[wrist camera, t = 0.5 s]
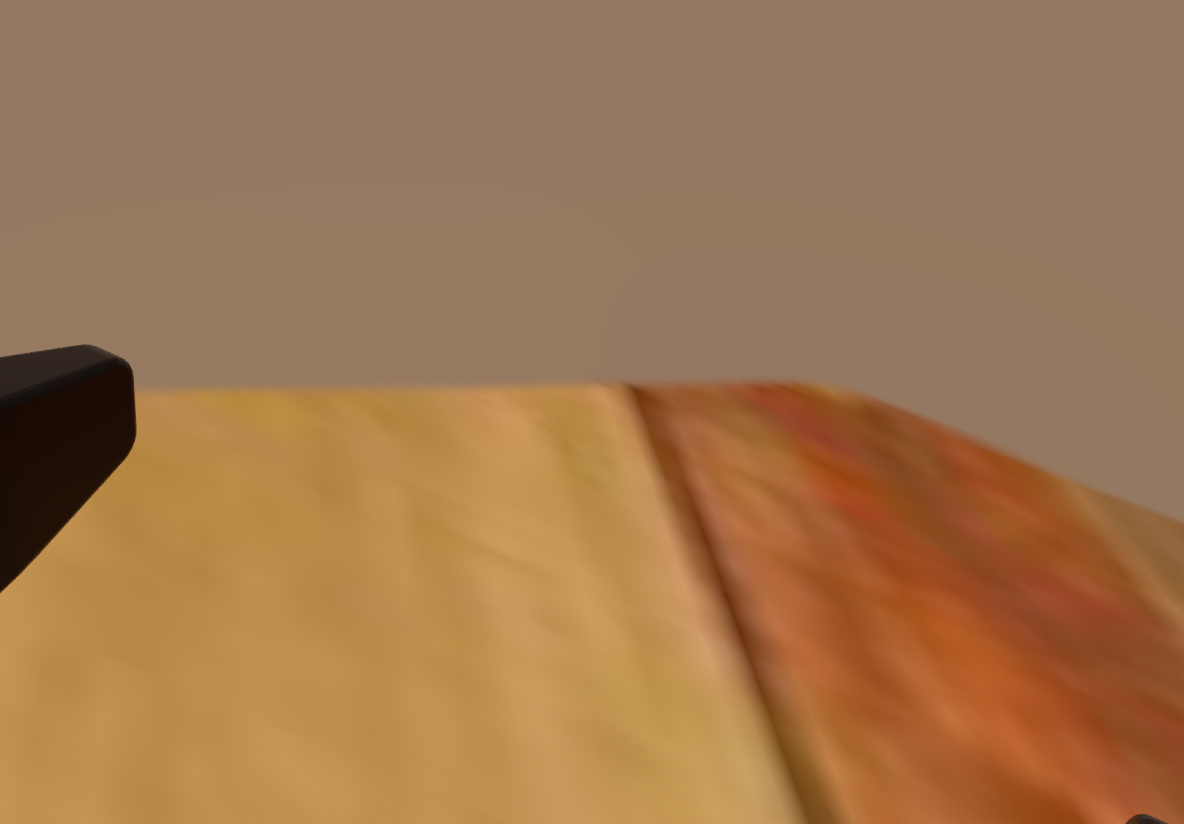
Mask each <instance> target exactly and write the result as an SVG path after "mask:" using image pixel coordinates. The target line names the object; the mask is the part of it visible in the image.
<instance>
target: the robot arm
mask: <svg viewBox="0 0 1184 824" xmlns="http://www.w3.org/2000/svg"><path fill="white" fill-rule="evenodd" d="M136 431H137V428H136V410H135V392H134V376H133V371H132V369H131V367H130V365H129V363H128V362H127V361H125V360H124V359H123V358H121V357H119V356H117V355H114V354H112V353H110V352H108V351H105V350H103V349H101V348H98V347H96V346H92V345H77V346H69V347H63V348H57V349H51V350H44V351H37V352H31V353H25V354H18V355H11V356H5V357H0V593H1V592H2V591H3V590H4V589H5V588H6V587H7V586H8V585H9V584H10V583H11V582H12V581H14V580H15V579H16V578H17V577H18V576H19V575H20V574H21V573H22V572H23V570H24V569H25V568H26V567H27V566H28V565H29V564H30V563H31V562H32V561H33V560H34V559H35V558H36V557H37V556H38V555H39V554H40V553H41V551H42V550H43V549H44V548H45V547H46V546H47V545H48V544H49V543H50V542H51V540H52V539H53V538H54V537H55V536H56V535H57V534H58V533H59V532H60V530H61V529H62V528H63V527H64V526H65V525H66V524H67V523H68V522H69V521H70V519H71V518H72V517H73V516H74V515H75V514H76V513H77V512H78V511H79V510H80V508H81V507H82V506H83V505H84V504H85V503H86V502H87V501H88V500H89V498H90V497H91V496H92V495H93V494H94V493H95V492H96V491H97V490H98V489H99V487H100V486H101V485H102V484H103V483H104V482H105V481H106V480H107V479H108V477H109V476H110V475H111V474H112V473H113V472H114V471H115V470H116V469H117V468H118V466H119V465H120V464H121V463H122V462H123V461H124V460H125V458H126V457H127V456H128V454H129V452H130V451H131V449H132V447H133V444H134V442H135V438H136ZM1126 824H1168V823H1166V822H1163V821H1161V820H1159V819H1157V818H1154V817H1152V816H1150V815H1146V814H1138V815H1135V816H1134V817H1132V818H1131V819H1129V820H1128V821H1127V822H1126Z"/></svg>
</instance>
